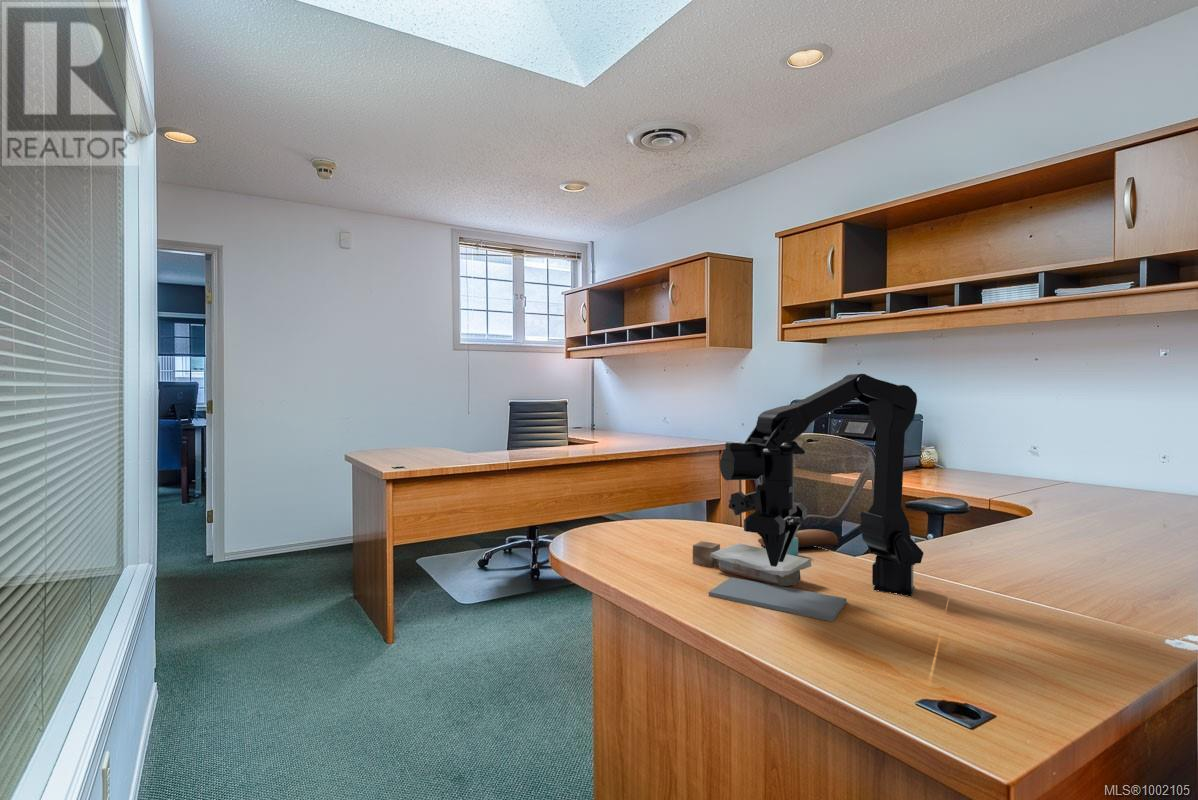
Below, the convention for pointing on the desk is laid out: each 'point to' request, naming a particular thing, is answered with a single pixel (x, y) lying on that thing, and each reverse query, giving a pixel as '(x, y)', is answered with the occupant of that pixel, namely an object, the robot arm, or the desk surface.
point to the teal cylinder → (793, 547)
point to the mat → (780, 598)
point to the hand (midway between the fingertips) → (776, 563)
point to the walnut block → (704, 553)
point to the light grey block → (760, 564)
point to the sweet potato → (813, 538)
